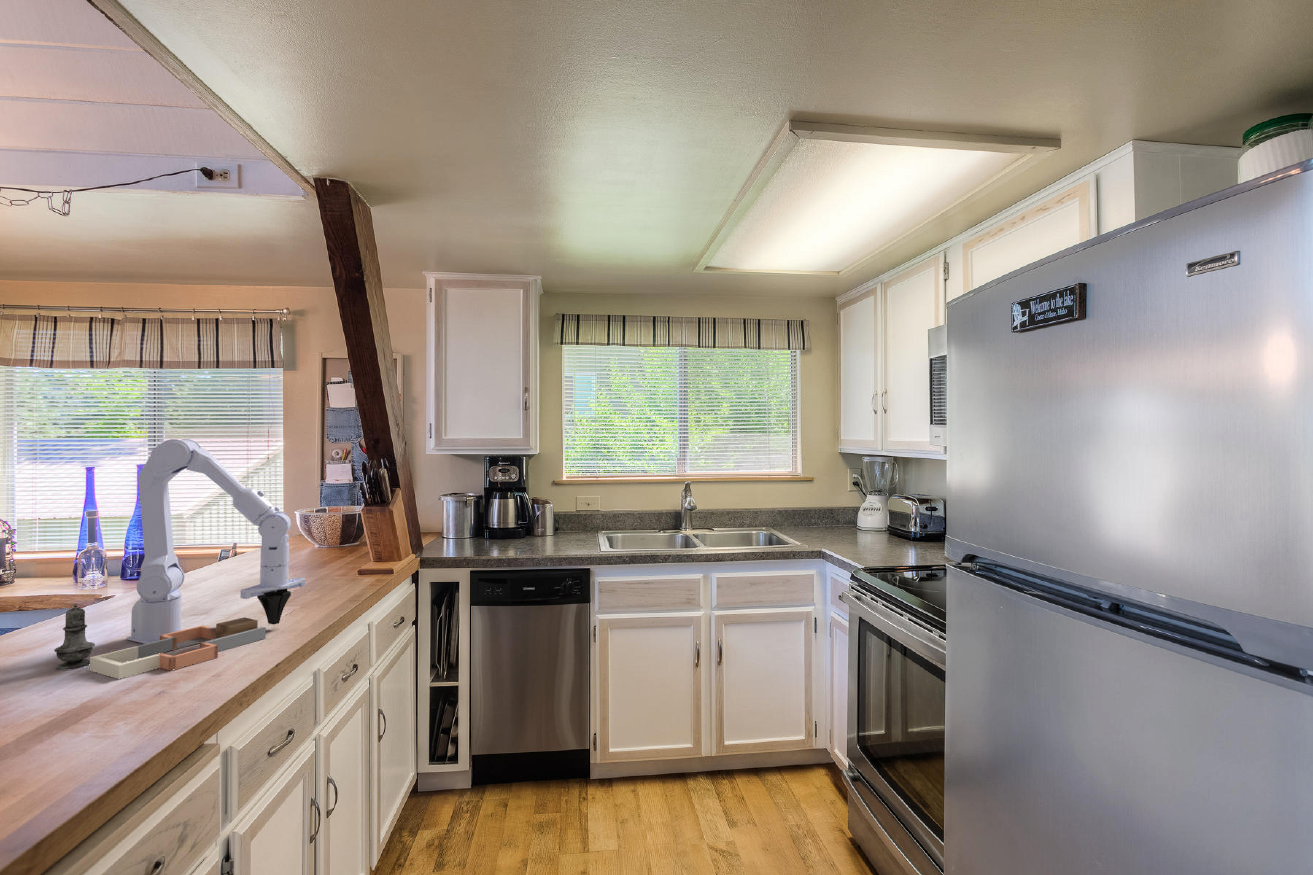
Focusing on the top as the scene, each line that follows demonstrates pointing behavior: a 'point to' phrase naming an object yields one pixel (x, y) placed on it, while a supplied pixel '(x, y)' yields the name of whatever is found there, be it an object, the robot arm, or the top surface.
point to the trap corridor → (152, 659)
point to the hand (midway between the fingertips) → (273, 623)
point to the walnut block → (235, 626)
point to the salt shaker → (74, 641)
